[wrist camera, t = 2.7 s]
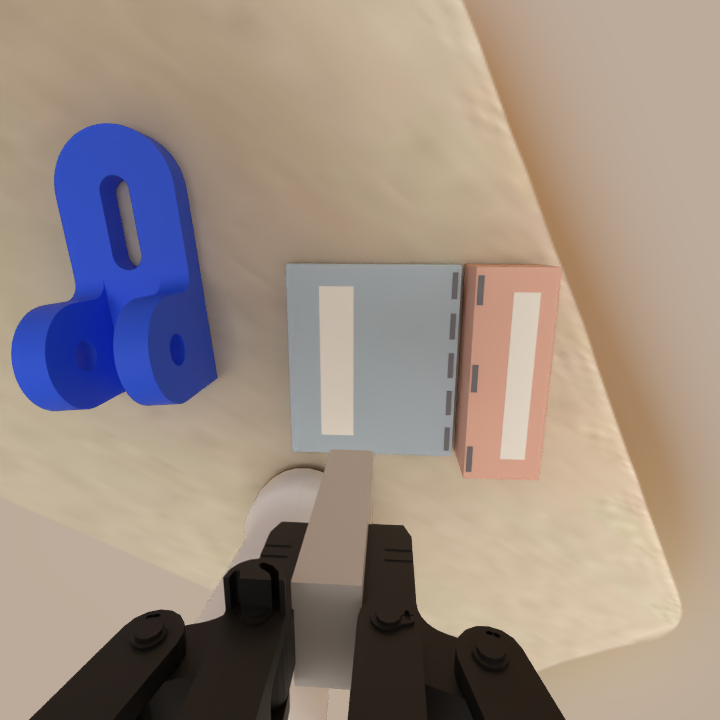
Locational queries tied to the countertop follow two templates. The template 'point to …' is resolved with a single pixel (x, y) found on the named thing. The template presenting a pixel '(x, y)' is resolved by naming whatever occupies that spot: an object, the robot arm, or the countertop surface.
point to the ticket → (373, 356)
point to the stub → (505, 368)
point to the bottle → (272, 506)
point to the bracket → (119, 284)
